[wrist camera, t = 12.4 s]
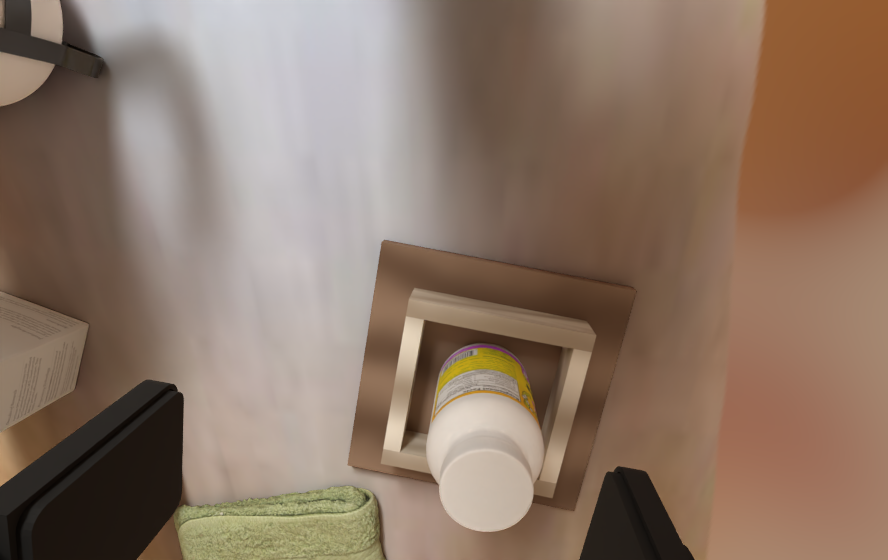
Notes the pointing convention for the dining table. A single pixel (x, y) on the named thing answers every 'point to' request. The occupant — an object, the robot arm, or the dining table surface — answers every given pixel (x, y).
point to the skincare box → (36, 357)
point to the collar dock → (494, 322)
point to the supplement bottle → (484, 438)
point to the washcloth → (284, 527)
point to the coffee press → (35, 48)
